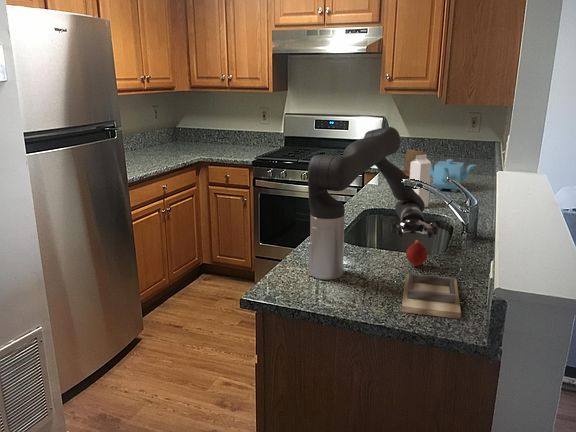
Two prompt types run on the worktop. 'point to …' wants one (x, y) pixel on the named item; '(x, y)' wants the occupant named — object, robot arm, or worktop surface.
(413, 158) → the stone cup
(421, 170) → the milk
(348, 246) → the worktop surface
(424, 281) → the tray
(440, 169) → the teakettle
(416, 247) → the red rounded piece
